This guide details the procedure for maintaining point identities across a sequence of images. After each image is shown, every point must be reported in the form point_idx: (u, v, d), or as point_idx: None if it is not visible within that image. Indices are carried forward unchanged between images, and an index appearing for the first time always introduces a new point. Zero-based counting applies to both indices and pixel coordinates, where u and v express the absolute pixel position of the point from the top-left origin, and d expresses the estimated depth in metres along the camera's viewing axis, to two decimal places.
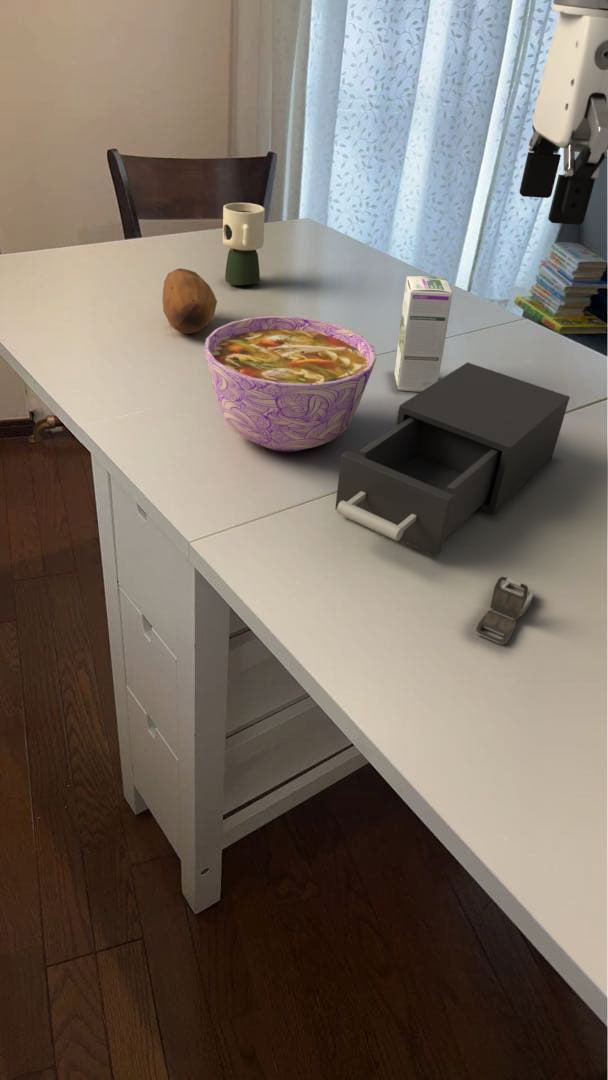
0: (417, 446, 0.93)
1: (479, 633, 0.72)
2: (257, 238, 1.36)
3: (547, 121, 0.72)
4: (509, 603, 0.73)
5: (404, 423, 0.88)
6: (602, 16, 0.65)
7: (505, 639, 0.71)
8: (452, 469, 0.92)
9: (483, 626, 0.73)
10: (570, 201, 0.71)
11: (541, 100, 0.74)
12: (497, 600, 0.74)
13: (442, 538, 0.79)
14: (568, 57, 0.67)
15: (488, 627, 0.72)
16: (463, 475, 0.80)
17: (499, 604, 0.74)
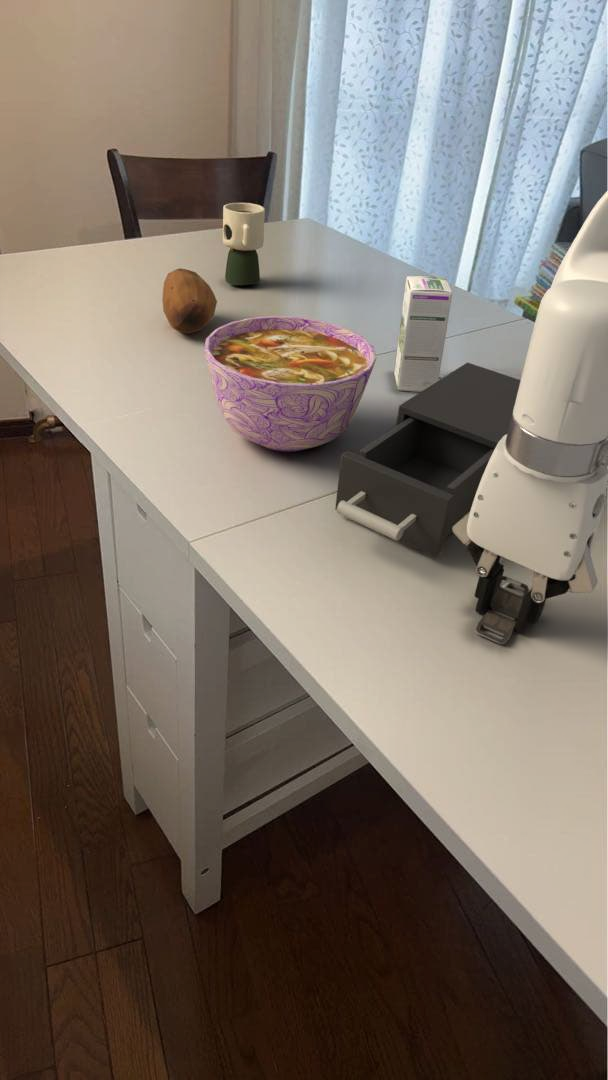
0: (417, 446, 0.93)
1: (479, 633, 0.72)
2: (257, 238, 1.36)
3: (519, 552, 0.68)
4: (509, 603, 0.73)
5: (404, 423, 0.88)
6: (590, 477, 0.62)
7: (505, 639, 0.71)
8: (452, 469, 0.92)
9: (483, 626, 0.73)
10: (538, 614, 0.72)
11: (492, 527, 0.68)
12: (497, 600, 0.74)
13: (442, 538, 0.79)
14: (557, 512, 0.64)
15: (488, 627, 0.72)
16: (463, 475, 0.80)
17: (499, 604, 0.74)
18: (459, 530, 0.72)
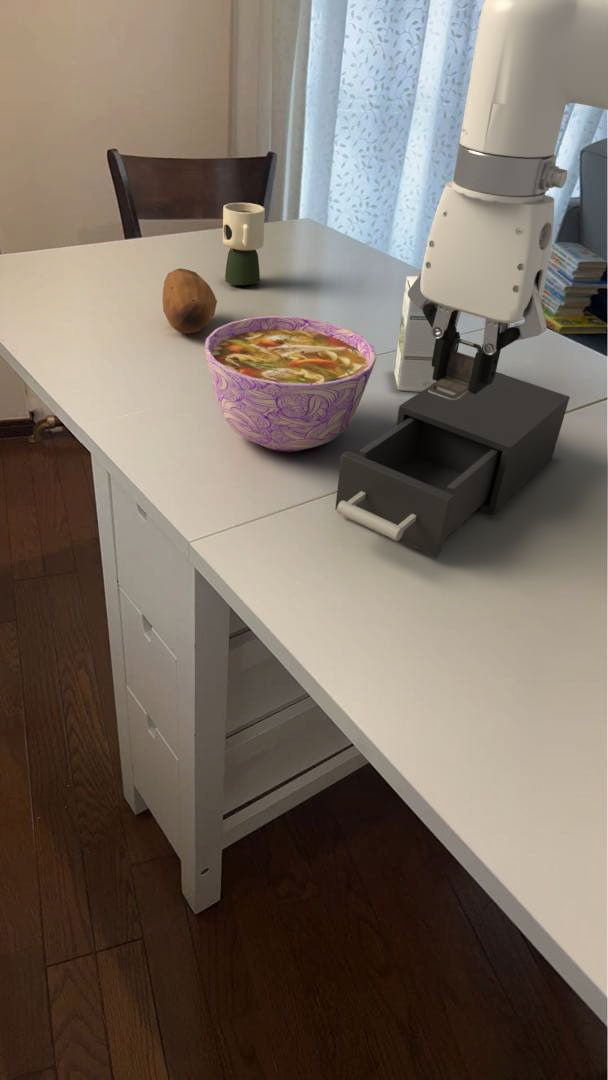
0: (417, 446, 0.93)
1: (430, 391, 0.73)
2: (257, 238, 1.36)
3: (470, 297, 0.69)
4: (463, 367, 0.74)
5: (404, 423, 0.88)
6: (536, 201, 0.63)
7: (455, 396, 0.72)
8: (452, 469, 0.92)
9: (436, 387, 0.74)
10: (490, 372, 0.73)
11: (444, 275, 0.69)
12: (452, 365, 0.75)
13: (442, 538, 0.79)
14: (504, 242, 0.65)
15: (441, 387, 0.73)
16: (463, 475, 0.80)
17: (454, 369, 0.75)
18: (414, 294, 0.73)
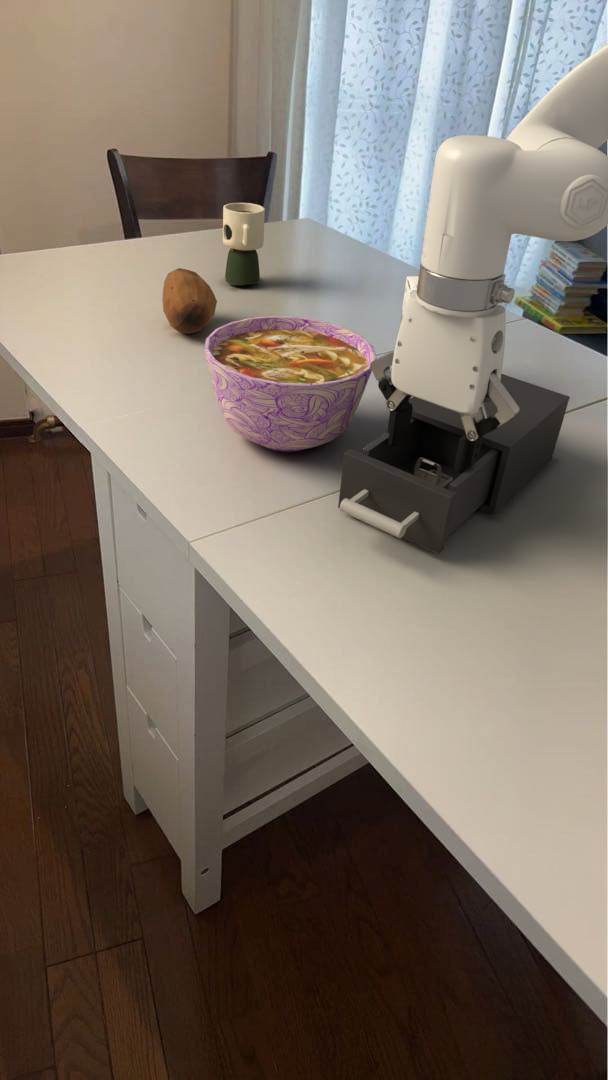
0: (419, 444, 0.93)
1: None
2: (257, 238, 1.36)
3: (433, 391, 0.77)
4: None
5: None
6: (487, 314, 0.72)
7: None
8: None
9: None
10: (474, 454, 0.80)
11: (411, 371, 0.78)
12: None
13: (444, 535, 0.79)
14: (461, 347, 0.73)
15: None
16: (465, 473, 0.80)
17: None
18: (375, 367, 0.82)
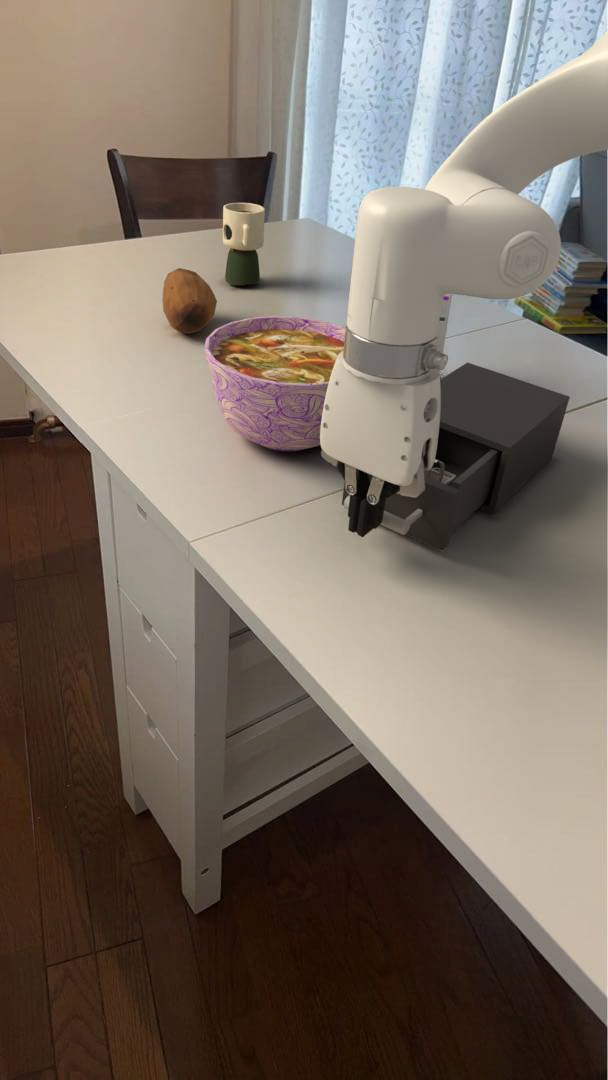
0: None
1: None
2: (257, 238, 1.36)
3: (364, 460, 0.71)
4: None
5: None
6: (419, 380, 0.65)
7: None
8: (457, 465, 0.92)
9: None
10: (376, 517, 0.75)
11: (339, 436, 0.71)
12: None
13: (448, 532, 0.79)
14: (390, 416, 0.67)
15: None
16: (469, 470, 0.81)
17: None
18: (327, 454, 0.75)
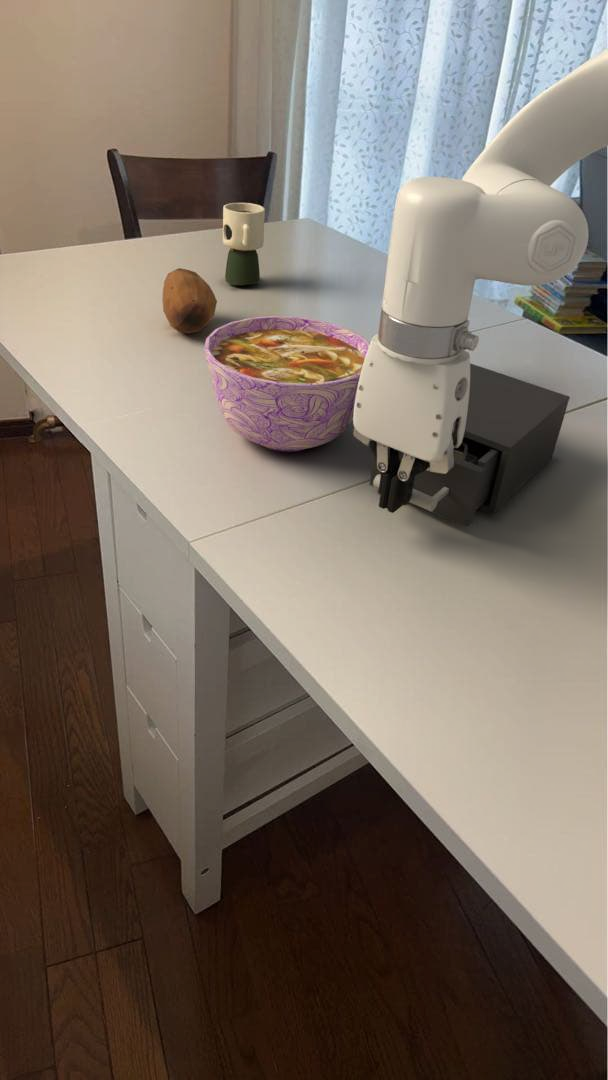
0: None
1: None
2: (257, 238, 1.36)
3: (396, 437, 0.74)
4: None
5: None
6: (451, 361, 0.69)
7: None
8: (478, 448, 0.96)
9: None
10: (406, 494, 0.79)
11: (373, 415, 0.75)
12: None
13: (473, 509, 0.83)
14: (423, 394, 0.70)
15: None
16: (492, 450, 0.84)
17: None
18: (359, 433, 0.79)
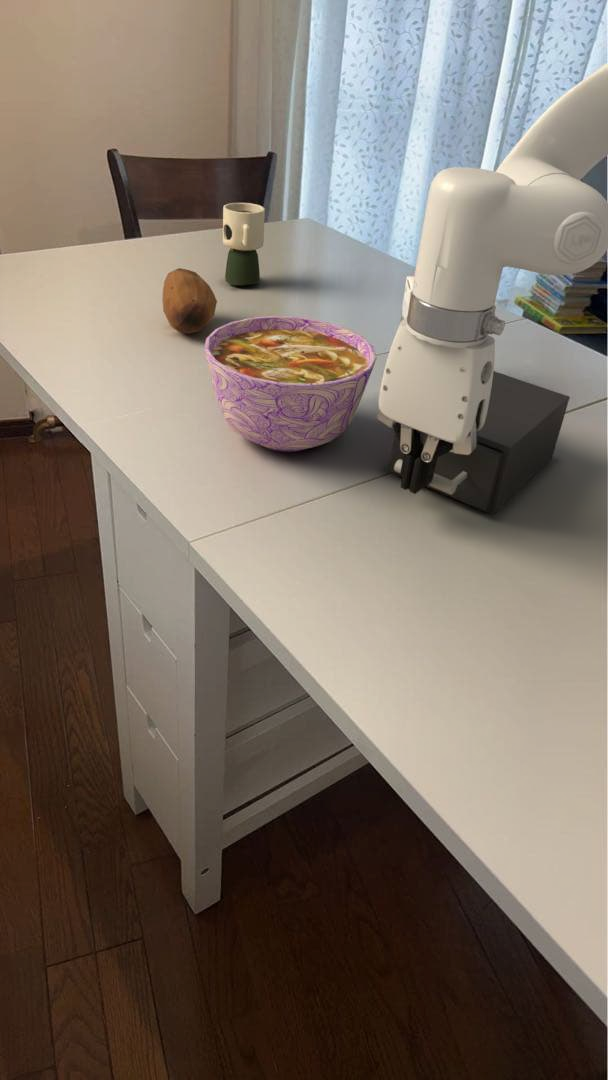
0: None
1: None
2: (257, 238, 1.36)
3: (421, 419, 0.77)
4: None
5: None
6: (477, 345, 0.72)
7: None
8: None
9: None
10: (428, 475, 0.82)
11: (399, 398, 0.78)
12: None
13: (491, 493, 0.86)
14: (450, 377, 0.73)
15: None
16: None
17: None
18: (383, 416, 0.82)
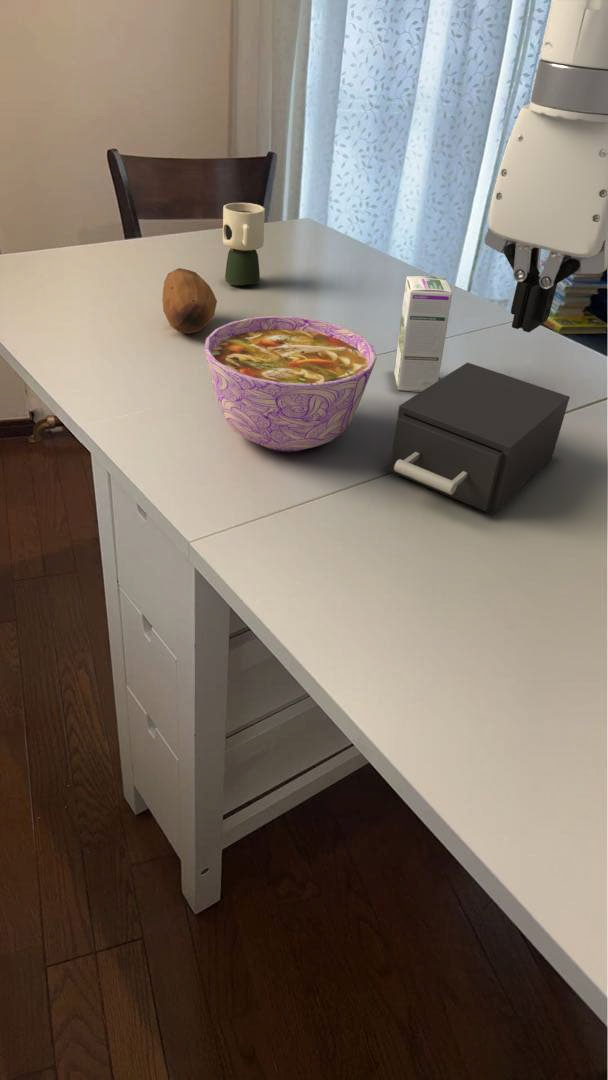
0: None
1: None
2: (257, 238, 1.36)
3: (544, 230, 0.64)
4: None
5: None
6: None
7: None
8: None
9: None
10: (546, 308, 0.69)
11: (516, 206, 0.65)
12: None
13: (491, 493, 0.86)
14: (586, 166, 0.60)
15: None
16: None
17: None
18: (492, 239, 0.69)
